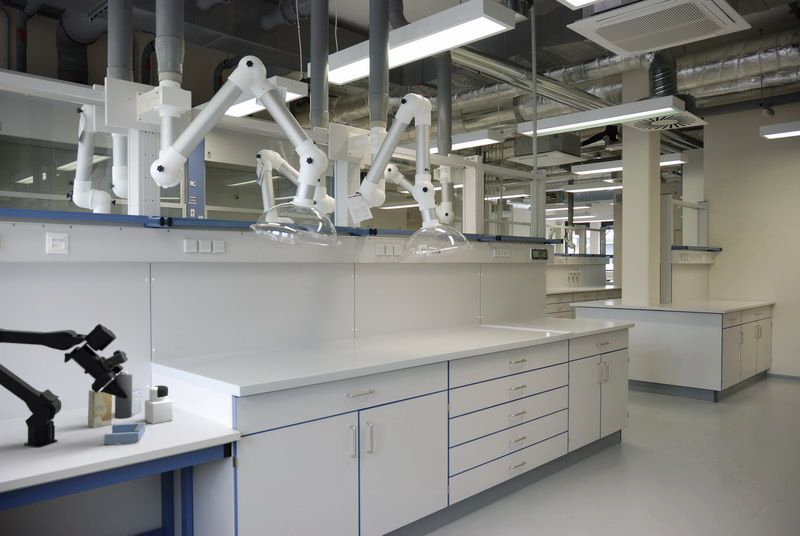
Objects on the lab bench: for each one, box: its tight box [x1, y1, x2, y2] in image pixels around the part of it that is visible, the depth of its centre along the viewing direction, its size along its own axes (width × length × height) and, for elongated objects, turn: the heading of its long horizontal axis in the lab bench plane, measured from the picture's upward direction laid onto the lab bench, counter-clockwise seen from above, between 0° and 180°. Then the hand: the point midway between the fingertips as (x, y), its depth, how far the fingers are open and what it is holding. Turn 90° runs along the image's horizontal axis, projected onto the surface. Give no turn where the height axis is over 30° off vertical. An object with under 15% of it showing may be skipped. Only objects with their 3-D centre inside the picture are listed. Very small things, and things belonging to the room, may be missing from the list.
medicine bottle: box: [144, 385, 174, 425], centre depth 207 cm, size 7×7×12 cm
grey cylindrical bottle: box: [114, 370, 133, 420], centre depth 186 cm, size 5×5×14 cm
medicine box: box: [132, 388, 142, 416], centre depth 216 cm, size 8×4×9 cm, turn 172°
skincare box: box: [87, 387, 113, 429], centre depth 201 cm, size 6×4×12 cm
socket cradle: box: [103, 422, 146, 445], centre depth 186 cm, size 10×12×3 cm
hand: (128, 396), depth 187 cm, fingers closed on grey cylindrical bottle, 5 cm apart
